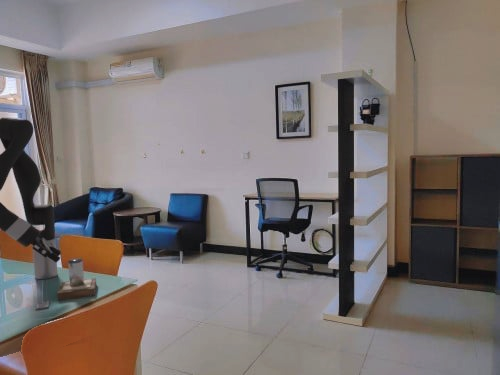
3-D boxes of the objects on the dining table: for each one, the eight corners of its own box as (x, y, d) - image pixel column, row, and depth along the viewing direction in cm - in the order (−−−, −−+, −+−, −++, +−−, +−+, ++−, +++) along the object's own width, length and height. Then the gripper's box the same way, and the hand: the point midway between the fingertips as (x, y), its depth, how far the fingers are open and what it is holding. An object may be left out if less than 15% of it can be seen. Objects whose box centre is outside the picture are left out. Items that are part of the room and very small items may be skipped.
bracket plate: (37, 305, 141) (37, 302, 141) (49, 303, 143) (49, 300, 143) (35, 311, 136) (35, 308, 135) (48, 309, 137) (48, 306, 137)
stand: (62, 289, 156) (61, 281, 156) (96, 285, 160) (95, 277, 160) (57, 300, 144) (57, 292, 144) (94, 295, 148) (94, 287, 148)
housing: (70, 283, 153) (69, 259, 152) (84, 281, 155) (83, 257, 154) (69, 287, 149) (67, 262, 148) (83, 285, 150) (81, 261, 149)
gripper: (28, 227, 137) (65, 254, 143) (32, 221, 150) (66, 246, 156) (12, 244, 135) (50, 270, 141) (17, 236, 148) (52, 260, 154)
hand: (59, 257), depth 148 cm, fingers open, 8 cm apart
